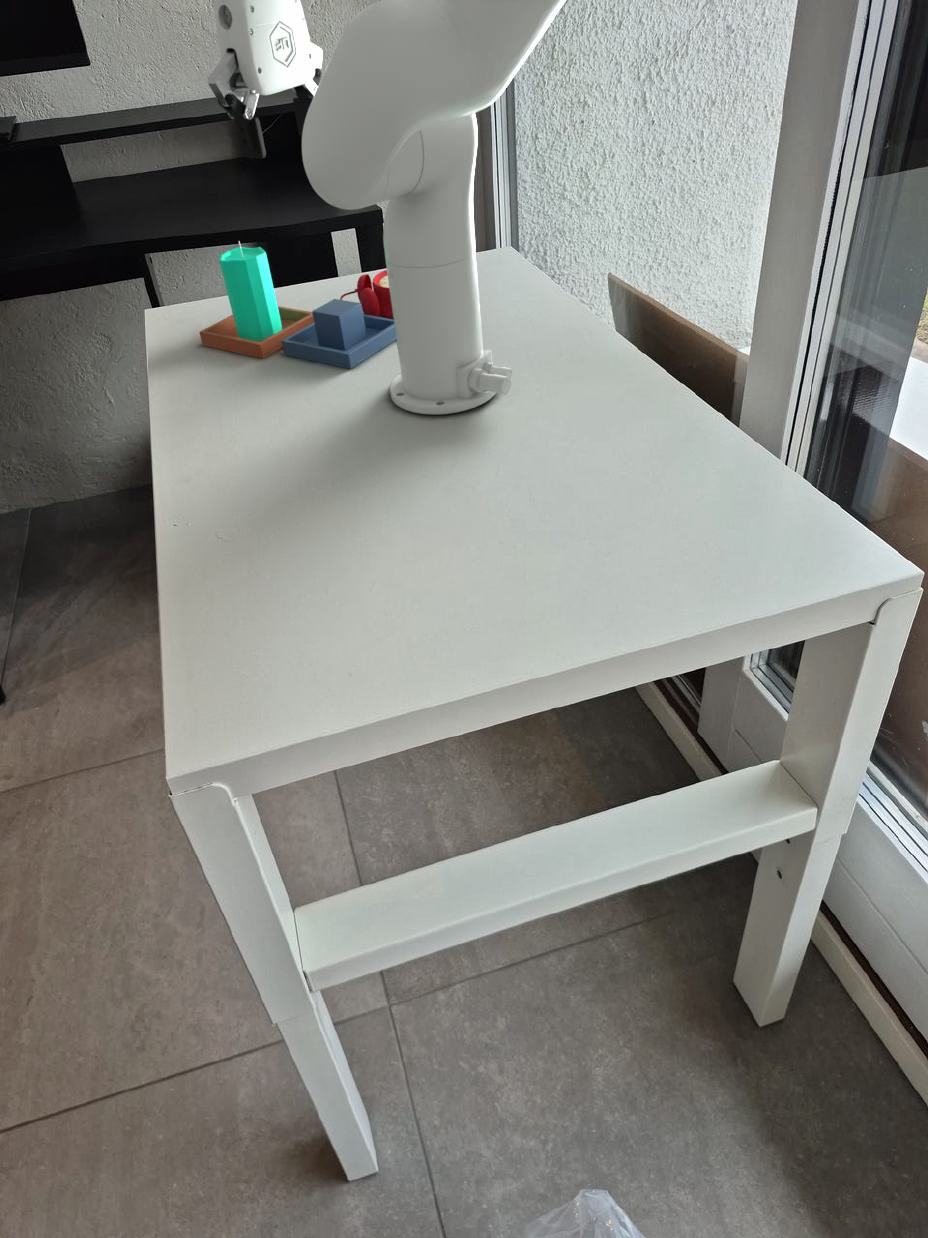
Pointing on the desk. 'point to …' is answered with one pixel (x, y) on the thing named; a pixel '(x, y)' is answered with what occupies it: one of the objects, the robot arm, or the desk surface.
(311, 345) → the blue tray
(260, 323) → the candle
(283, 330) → the terracotta tray
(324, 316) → the blue block
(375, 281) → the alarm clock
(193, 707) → the desk surface
